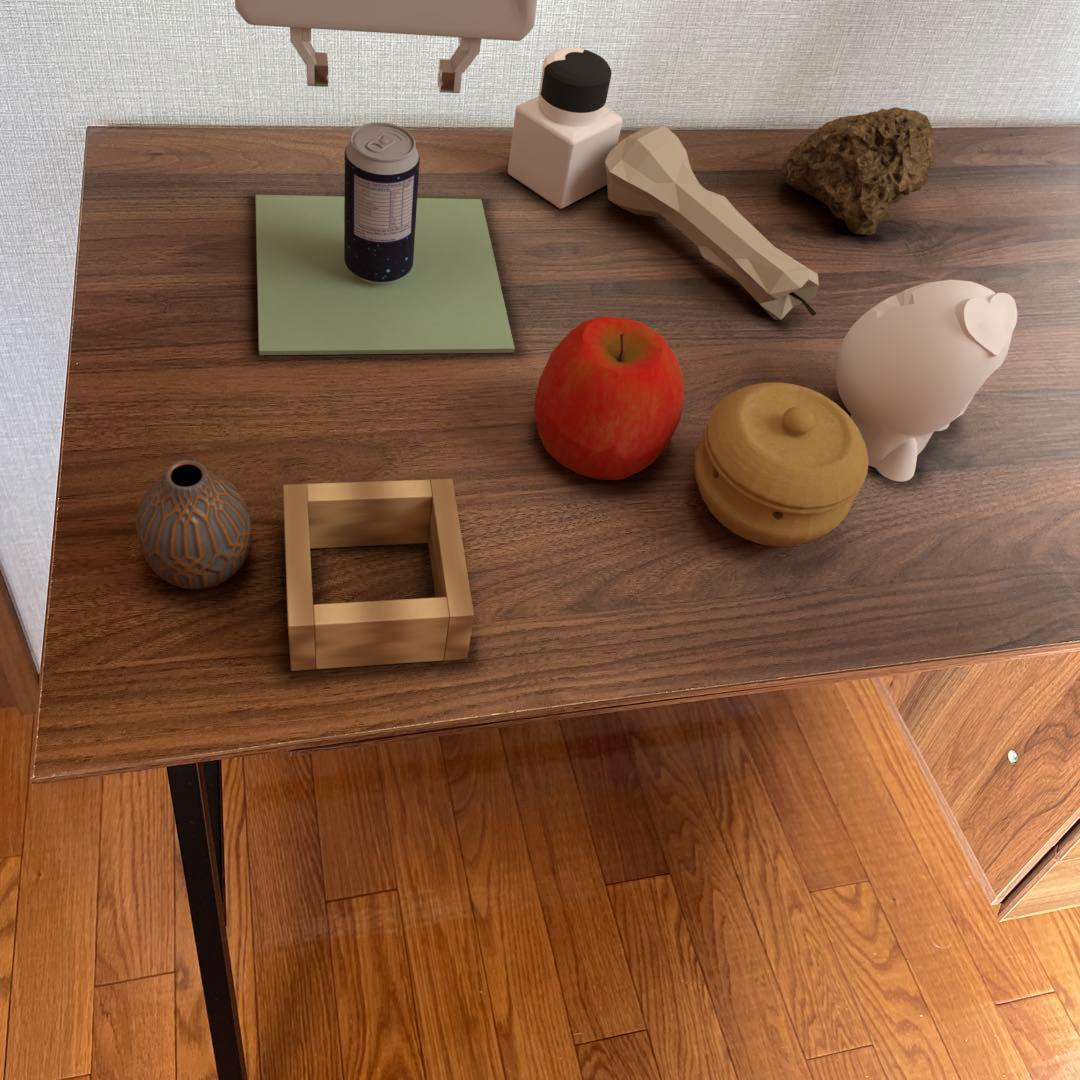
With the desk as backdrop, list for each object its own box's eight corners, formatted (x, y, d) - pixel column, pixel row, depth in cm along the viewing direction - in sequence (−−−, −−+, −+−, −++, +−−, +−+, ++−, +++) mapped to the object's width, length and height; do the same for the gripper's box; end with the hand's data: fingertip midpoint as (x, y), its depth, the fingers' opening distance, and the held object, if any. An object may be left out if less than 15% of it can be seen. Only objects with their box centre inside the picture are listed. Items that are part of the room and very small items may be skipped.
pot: (675, 549, 79) (711, 454, 71) (688, 434, 86) (723, 337, 78) (835, 585, 79) (889, 494, 71) (835, 467, 86) (884, 373, 79)
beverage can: (426, 267, 94) (435, 140, 84) (384, 300, 90) (390, 171, 81) (372, 238, 95) (376, 110, 86) (330, 270, 92) (329, 140, 82)
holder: (290, 671, 68) (288, 626, 64) (285, 532, 75) (282, 484, 71) (466, 659, 71) (474, 615, 67) (446, 525, 77) (452, 478, 73)
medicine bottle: (610, 185, 106) (635, 66, 97) (560, 211, 102) (582, 90, 93) (555, 149, 108) (575, 30, 99) (505, 174, 105) (521, 52, 95)
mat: (259, 355, 85) (258, 350, 85) (255, 199, 97) (255, 194, 97) (514, 353, 89) (514, 348, 89) (480, 203, 101) (481, 198, 101)
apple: (673, 409, 88) (708, 304, 80) (660, 510, 81) (696, 406, 73) (541, 379, 88) (562, 271, 80) (516, 477, 81) (536, 370, 73)
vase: (255, 603, 71) (246, 516, 64) (142, 609, 70) (121, 521, 63) (254, 520, 75) (246, 430, 68) (147, 524, 74) (128, 433, 67)
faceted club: (648, 162, 108) (840, 316, 99) (582, 207, 105) (773, 369, 96) (653, 89, 100) (863, 249, 91) (582, 136, 97) (790, 305, 88)
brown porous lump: (778, 179, 112) (913, 93, 109) (843, 283, 109) (985, 198, 106) (763, 127, 102) (912, 30, 98) (836, 241, 98) (993, 144, 95)
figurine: (790, 428, 88) (857, 278, 77) (847, 358, 95) (918, 209, 83) (916, 499, 85) (1006, 354, 74) (966, 421, 92) (1057, 276, 80)
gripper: (219, -115, 65) (235, 102, 76) (557, -86, 70) (526, 115, 80) (220, -158, 69) (234, 55, 80) (540, -128, 73) (513, 70, 84)
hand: (383, 85), depth 80 cm, fingers open, 8 cm apart
